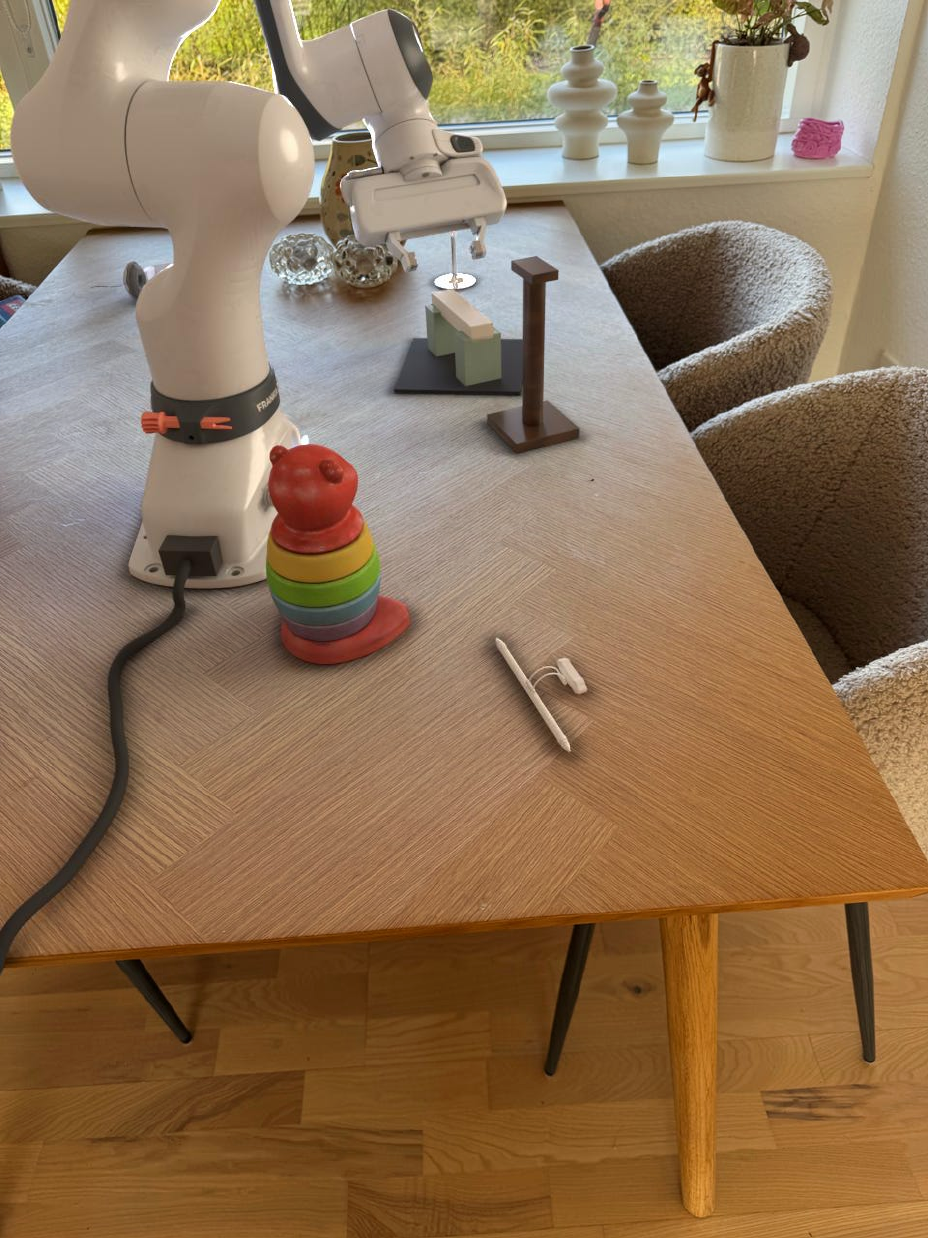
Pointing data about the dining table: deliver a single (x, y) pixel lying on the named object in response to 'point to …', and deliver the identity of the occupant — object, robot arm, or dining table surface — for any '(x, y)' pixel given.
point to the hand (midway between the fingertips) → (446, 262)
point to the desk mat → (440, 372)
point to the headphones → (138, 277)
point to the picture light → (565, 675)
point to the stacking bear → (325, 560)
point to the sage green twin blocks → (463, 337)
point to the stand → (533, 371)
